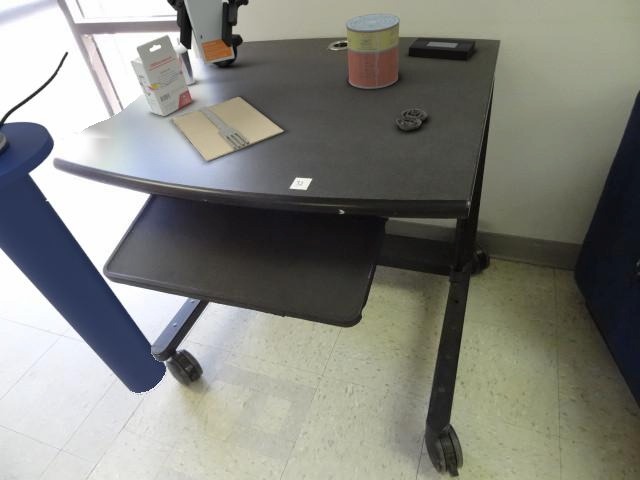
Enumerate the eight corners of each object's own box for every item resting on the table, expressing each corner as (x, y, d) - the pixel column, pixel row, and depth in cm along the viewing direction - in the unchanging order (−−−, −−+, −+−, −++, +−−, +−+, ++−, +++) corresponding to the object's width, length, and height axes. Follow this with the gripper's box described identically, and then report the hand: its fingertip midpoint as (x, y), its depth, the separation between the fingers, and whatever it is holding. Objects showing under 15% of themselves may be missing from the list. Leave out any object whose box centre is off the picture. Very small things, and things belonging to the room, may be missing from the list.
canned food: (376, 65, 98) (375, 11, 90) (408, 77, 91) (411, 19, 83) (339, 79, 94) (335, 23, 86) (370, 93, 87) (369, 33, 78)
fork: (197, 112, 88) (196, 110, 88) (210, 108, 89) (209, 106, 89) (234, 149, 74) (233, 147, 74) (249, 143, 75) (248, 141, 75)
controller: (213, 62, 112) (202, 23, 106) (250, 64, 108) (241, 24, 101) (204, 68, 110) (192, 28, 103) (242, 70, 105) (232, 29, 98)
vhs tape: (418, 45, 105) (419, 37, 104) (474, 49, 99) (475, 40, 98) (408, 55, 100) (408, 47, 99) (466, 60, 94) (467, 51, 93)
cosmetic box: (204, 65, 74) (182, -9, 65) (200, 59, 77) (179, -13, 68) (236, 58, 75) (218, -16, 67) (231, 52, 78) (213, -20, 70)
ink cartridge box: (180, 98, 96) (156, 31, 86) (193, 101, 93) (170, 34, 83) (150, 113, 91) (122, 44, 81) (163, 117, 89) (136, 47, 79)
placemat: (172, 120, 87) (172, 119, 87) (239, 97, 92) (239, 96, 92) (207, 161, 73) (206, 160, 72) (283, 132, 78) (283, 130, 78)
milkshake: (199, 77, 105) (186, 36, 98) (195, 85, 101) (182, 43, 94) (182, 79, 105) (168, 38, 98) (178, 87, 101) (163, 45, 94)
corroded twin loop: (391, 130, 74) (391, 125, 73) (405, 111, 79) (405, 106, 78) (417, 134, 72) (417, 129, 71) (430, 114, 77) (431, 109, 76)
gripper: (271, -73, 73) (266, 51, 73) (171, -61, 77) (166, 57, 76) (257, -109, 66) (252, 29, 65) (147, -94, 69) (141, 36, 69)
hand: (205, 44), depth 71 cm, fingers closed on cosmetic box, 7 cm apart
